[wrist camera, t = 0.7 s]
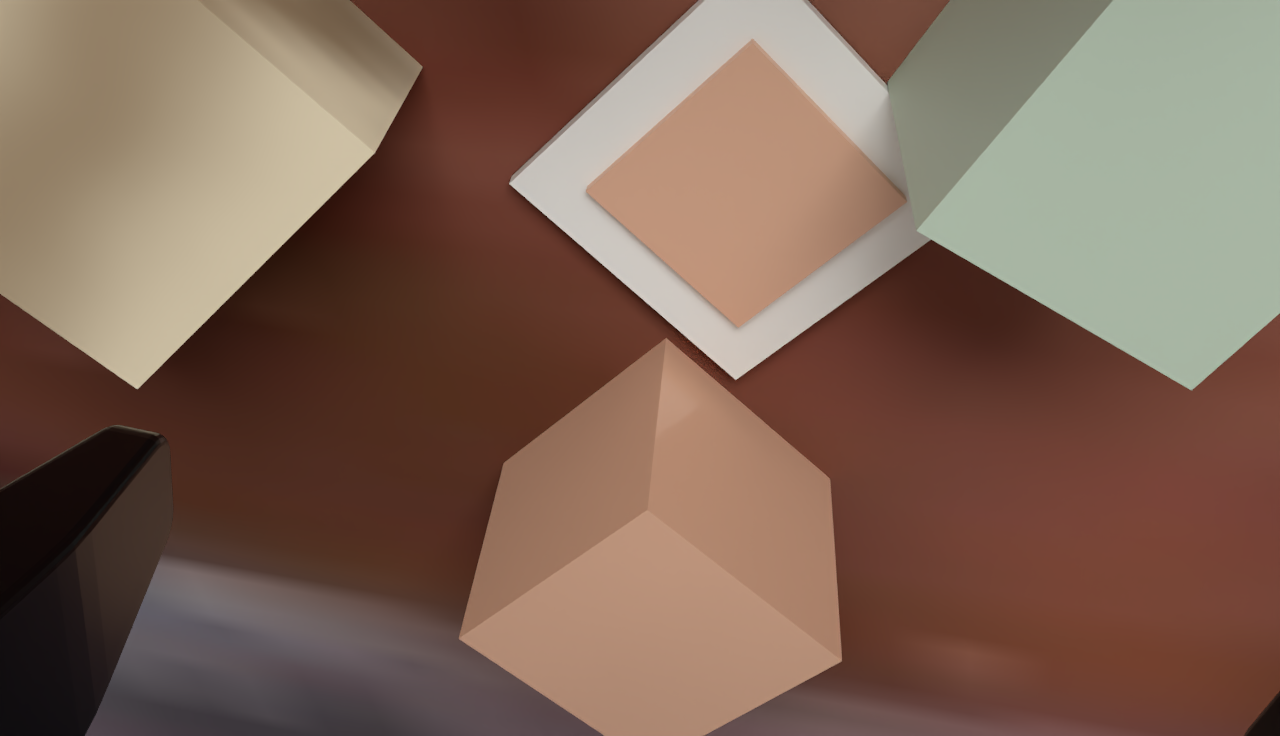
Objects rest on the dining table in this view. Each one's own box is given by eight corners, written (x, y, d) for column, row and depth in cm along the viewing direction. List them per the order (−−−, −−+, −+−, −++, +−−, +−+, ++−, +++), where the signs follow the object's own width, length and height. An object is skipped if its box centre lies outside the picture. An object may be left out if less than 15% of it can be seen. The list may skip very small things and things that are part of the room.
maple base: (426, 60, 21) (375, 152, 18) (208, 282, 24) (137, 389, 22) (75, -261, 18) (-47, -210, 16) (-116, 36, 22) (-245, 122, 19)
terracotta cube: (830, 476, 26) (841, 661, 22) (664, 581, 28) (648, 765, 24) (666, 335, 24) (647, 509, 20) (504, 460, 26) (458, 638, 23)
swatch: (985, 190, 21) (989, 204, 21) (736, 370, 24) (735, 386, 24) (757, -55, 19) (757, -44, 19) (512, 175, 22) (507, 189, 22)
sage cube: (1340, -16, 19) (1493, 125, 15) (1113, 219, 22) (1191, 390, 18) (1094, -193, 18) (1190, -91, 14) (886, 80, 21) (916, 231, 17)
